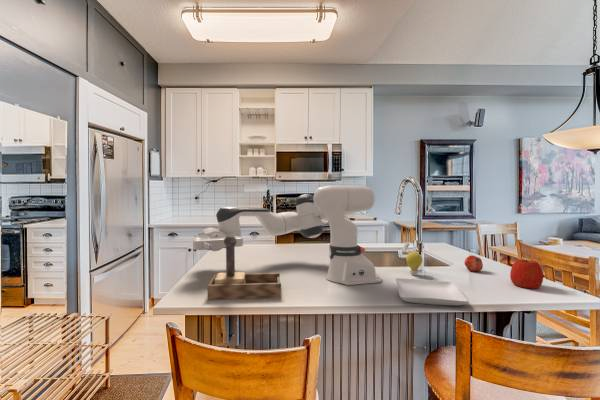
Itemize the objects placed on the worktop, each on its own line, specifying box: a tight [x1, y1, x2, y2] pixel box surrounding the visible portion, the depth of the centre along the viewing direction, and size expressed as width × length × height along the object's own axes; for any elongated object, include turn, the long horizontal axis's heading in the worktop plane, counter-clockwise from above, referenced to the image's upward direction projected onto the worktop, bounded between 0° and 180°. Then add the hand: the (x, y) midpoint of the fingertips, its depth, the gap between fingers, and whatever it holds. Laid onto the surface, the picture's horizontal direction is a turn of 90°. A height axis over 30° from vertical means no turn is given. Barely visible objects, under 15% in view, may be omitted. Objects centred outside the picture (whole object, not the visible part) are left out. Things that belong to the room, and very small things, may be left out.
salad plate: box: [395, 277, 469, 307], centre depth 118 cm, size 21×21×3 cm
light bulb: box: [405, 251, 423, 276], centre depth 145 cm, size 7×7×10 cm
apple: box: [509, 258, 544, 290], centre depth 130 cm, size 11×11×11 cm
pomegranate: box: [463, 254, 484, 272], centre depth 152 cm, size 7×7×10 cm
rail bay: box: [206, 272, 282, 301], centre depth 122 cm, size 25×14×5 cm, turn 96°
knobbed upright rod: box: [215, 235, 246, 284], centre depth 121 cm, size 10×9×20 cm
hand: (221, 245), depth 131 cm, fingers open, 8 cm apart
